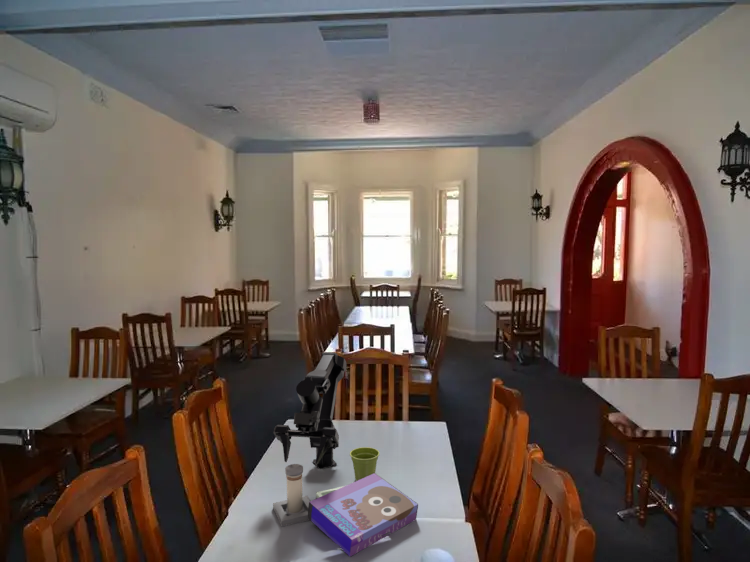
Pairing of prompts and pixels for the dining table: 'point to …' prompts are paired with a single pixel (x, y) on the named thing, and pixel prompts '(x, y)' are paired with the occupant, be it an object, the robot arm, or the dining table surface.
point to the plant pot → (364, 461)
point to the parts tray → (325, 492)
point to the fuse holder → (291, 519)
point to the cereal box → (362, 513)
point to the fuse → (294, 489)
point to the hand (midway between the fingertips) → (300, 462)
